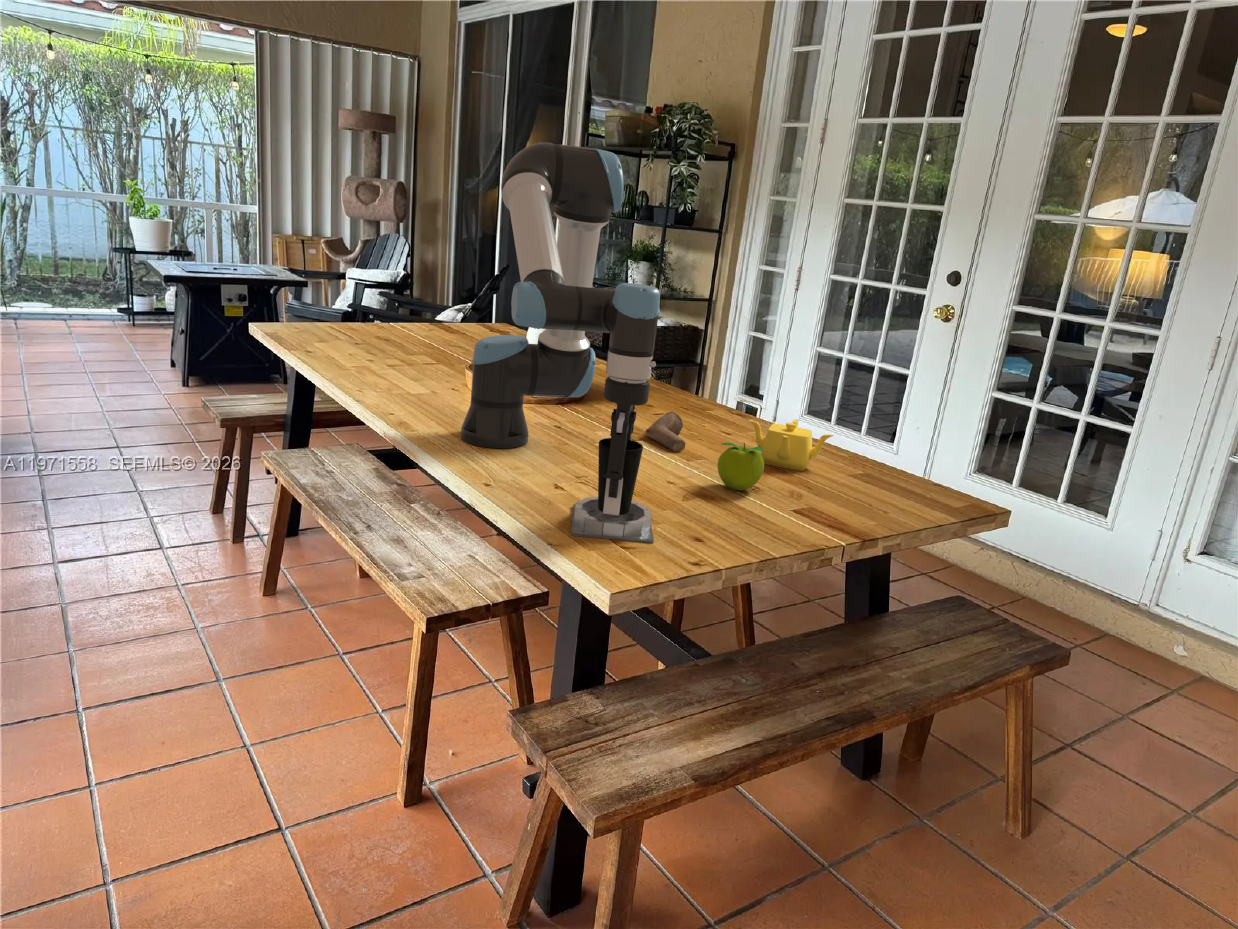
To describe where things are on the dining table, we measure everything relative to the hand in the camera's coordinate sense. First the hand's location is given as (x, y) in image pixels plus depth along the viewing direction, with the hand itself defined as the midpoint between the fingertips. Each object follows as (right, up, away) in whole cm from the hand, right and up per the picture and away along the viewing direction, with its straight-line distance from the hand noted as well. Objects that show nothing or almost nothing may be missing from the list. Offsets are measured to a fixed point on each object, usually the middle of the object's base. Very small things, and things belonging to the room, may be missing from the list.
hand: (613, 505), depth 148 cm
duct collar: (0, -3, +1) cm, 4 cm away
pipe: (+14, +12, +58) cm, 61 cm away
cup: (0, -1, 0) cm, 1 cm away
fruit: (+26, +2, +28) cm, 38 cm away
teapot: (+40, +7, +51) cm, 65 cm away
